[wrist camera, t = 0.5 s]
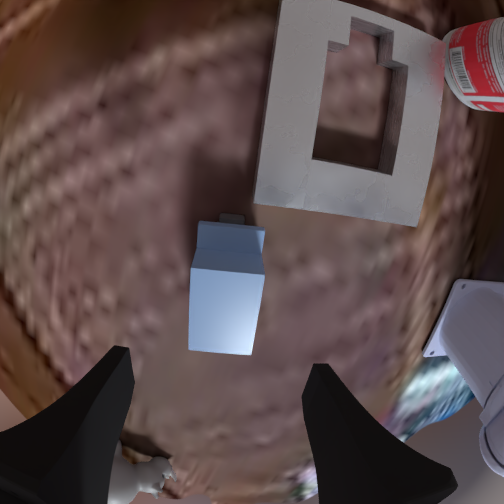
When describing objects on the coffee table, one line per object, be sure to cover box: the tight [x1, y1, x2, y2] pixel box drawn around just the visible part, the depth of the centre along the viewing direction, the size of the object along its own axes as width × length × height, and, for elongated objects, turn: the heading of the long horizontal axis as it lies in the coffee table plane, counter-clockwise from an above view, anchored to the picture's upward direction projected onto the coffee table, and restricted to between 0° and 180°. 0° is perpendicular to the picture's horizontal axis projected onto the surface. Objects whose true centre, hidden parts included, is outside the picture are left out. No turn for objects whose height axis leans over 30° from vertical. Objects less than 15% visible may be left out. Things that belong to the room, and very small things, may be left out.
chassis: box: [252, 0, 446, 227], centre depth 15 cm, size 10×12×2 cm
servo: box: [189, 213, 265, 355], centre depth 17 cm, size 8×3×5 cm, turn 173°
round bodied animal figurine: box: [108, 440, 177, 504], centre depth 26 cm, size 7×12×8 cm, turn 67°
